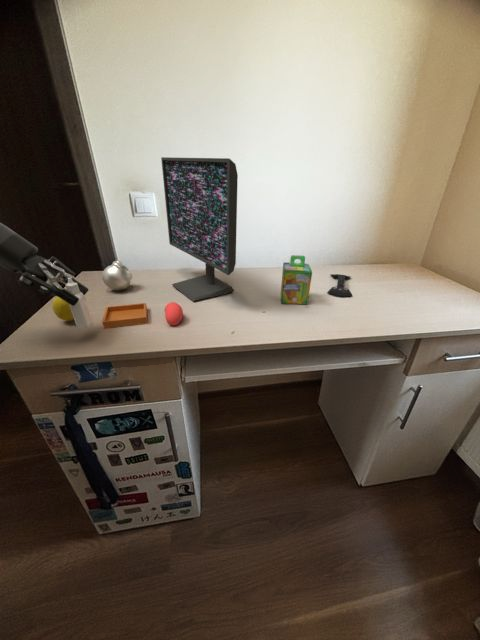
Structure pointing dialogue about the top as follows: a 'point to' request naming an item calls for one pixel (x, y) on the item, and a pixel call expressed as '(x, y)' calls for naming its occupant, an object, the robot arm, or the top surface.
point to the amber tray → (125, 315)
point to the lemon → (62, 309)
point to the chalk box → (296, 281)
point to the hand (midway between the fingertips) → (81, 297)
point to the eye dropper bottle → (79, 306)
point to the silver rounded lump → (117, 276)
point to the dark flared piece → (340, 286)
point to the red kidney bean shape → (173, 313)
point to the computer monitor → (202, 218)
